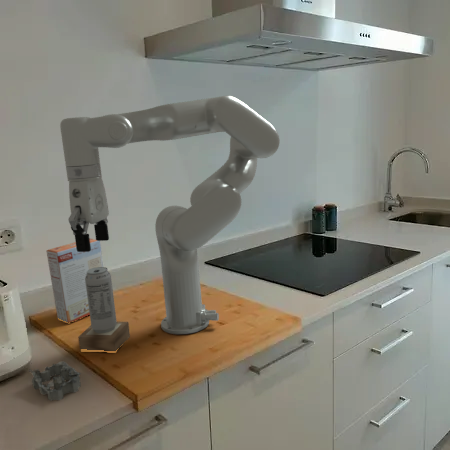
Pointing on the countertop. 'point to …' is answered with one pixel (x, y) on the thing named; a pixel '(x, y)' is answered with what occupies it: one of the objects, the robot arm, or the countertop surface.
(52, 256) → the cracker box
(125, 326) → the rectangular tray
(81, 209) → the robot arm
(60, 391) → the egg carton
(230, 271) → the countertop surface
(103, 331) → the energy drink can
